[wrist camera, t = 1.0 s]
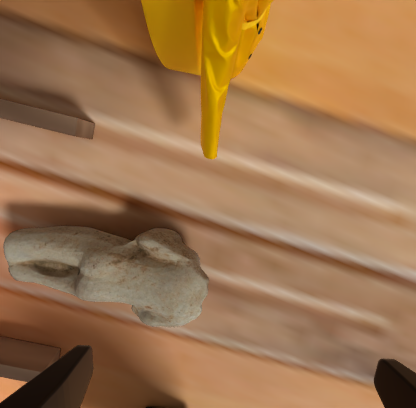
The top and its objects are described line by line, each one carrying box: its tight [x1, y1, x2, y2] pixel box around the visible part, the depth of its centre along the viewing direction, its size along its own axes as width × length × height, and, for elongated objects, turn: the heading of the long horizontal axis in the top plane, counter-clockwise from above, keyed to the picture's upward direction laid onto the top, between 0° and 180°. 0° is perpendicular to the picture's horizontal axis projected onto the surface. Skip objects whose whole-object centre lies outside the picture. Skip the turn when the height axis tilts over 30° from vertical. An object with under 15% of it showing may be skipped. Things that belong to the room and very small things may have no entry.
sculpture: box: [4, 226, 209, 327], centre depth 19 cm, size 7×5×15 cm
